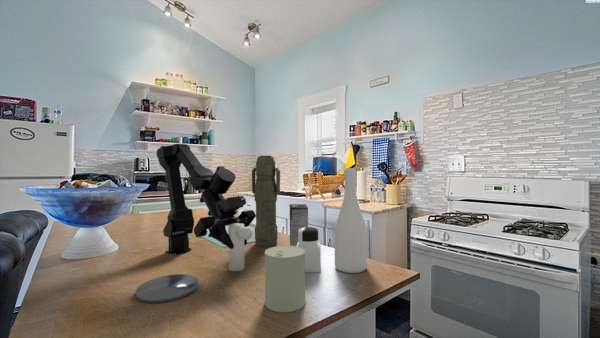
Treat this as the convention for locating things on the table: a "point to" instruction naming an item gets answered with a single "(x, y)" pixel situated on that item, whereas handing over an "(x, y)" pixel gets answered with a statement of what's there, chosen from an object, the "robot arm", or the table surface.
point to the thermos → (266, 201)
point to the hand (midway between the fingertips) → (239, 246)
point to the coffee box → (297, 221)
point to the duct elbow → (238, 245)
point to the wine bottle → (350, 230)
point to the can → (285, 278)
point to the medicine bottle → (310, 248)
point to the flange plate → (167, 288)
